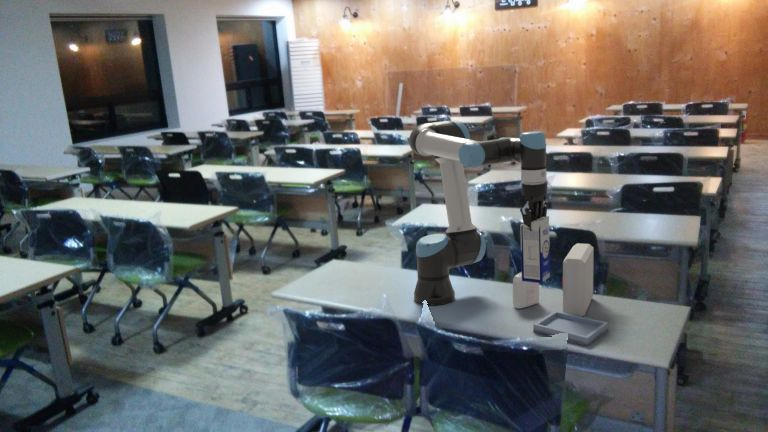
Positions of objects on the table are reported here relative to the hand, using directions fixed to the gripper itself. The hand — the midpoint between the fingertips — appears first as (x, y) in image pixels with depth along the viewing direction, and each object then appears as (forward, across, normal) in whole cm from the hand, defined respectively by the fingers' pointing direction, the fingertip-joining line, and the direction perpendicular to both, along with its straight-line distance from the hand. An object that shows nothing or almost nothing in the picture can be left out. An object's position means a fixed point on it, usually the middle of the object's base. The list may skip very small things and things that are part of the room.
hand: (535, 256), depth 195 cm
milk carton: (+7, -1, 0) cm, 7 cm away
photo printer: (+23, +14, +13) cm, 30 cm away
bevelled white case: (+23, +23, -2) cm, 33 cm away
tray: (+23, +3, -10) cm, 26 cm away
